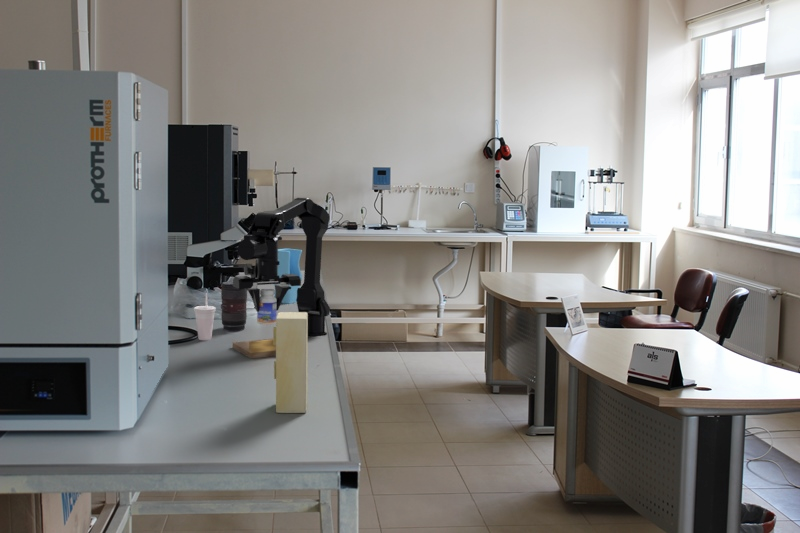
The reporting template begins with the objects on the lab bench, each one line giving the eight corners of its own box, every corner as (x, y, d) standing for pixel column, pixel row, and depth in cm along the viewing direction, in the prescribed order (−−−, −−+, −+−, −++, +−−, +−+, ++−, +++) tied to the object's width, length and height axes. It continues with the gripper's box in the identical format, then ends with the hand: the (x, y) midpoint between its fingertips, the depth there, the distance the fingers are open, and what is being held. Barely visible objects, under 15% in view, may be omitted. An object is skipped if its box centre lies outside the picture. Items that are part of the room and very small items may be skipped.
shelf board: (280, 342, 239) (280, 327, 238) (300, 352, 227) (300, 337, 226) (232, 347, 231) (232, 332, 230) (250, 358, 219) (250, 342, 218)
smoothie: (210, 342, 237) (210, 295, 235) (190, 340, 238) (189, 294, 236) (219, 337, 243) (219, 292, 241) (199, 336, 244) (199, 291, 242)
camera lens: (244, 332, 252) (244, 285, 250) (218, 331, 252) (218, 284, 250) (249, 326, 260) (249, 281, 258) (224, 325, 260) (224, 280, 258)
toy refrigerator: (274, 402, 180) (275, 311, 178) (307, 402, 181) (308, 311, 178) (271, 413, 172) (272, 318, 170) (306, 413, 173) (307, 318, 170)
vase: (288, 304, 302) (288, 251, 299) (272, 301, 306) (273, 250, 304) (301, 301, 309) (302, 250, 306) (286, 298, 313) (286, 248, 310)
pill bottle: (254, 324, 226) (254, 290, 225) (261, 320, 232) (261, 287, 230) (272, 325, 225) (272, 291, 224) (279, 322, 230) (279, 288, 229)
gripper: (286, 252, 238) (286, 304, 239) (226, 254, 228) (226, 308, 230) (302, 257, 228) (301, 310, 230) (240, 259, 218) (239, 315, 220)
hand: (267, 311), depth 228 cm, fingers closed on pill bottle, 5 cm apart
